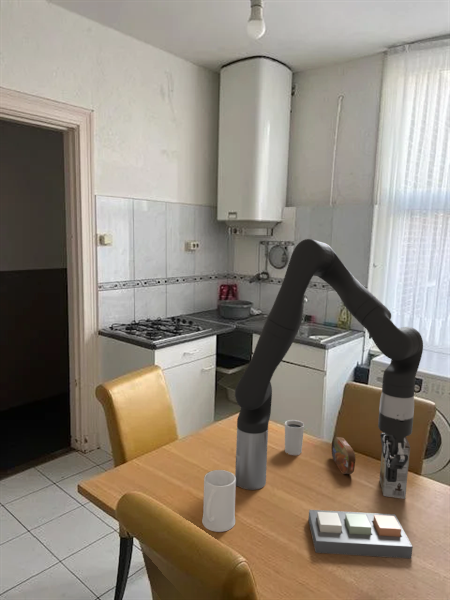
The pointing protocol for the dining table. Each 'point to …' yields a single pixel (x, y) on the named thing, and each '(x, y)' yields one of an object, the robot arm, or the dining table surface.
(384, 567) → the dining table surface
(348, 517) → the sage button
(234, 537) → the dining table surface
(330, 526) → the offwhite button
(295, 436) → the white cup
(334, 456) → the tin
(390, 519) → the terracotta button
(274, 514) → the dining table surface
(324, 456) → the dining table surface
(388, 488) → the coffee box
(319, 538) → the button panel
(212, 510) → the mug
